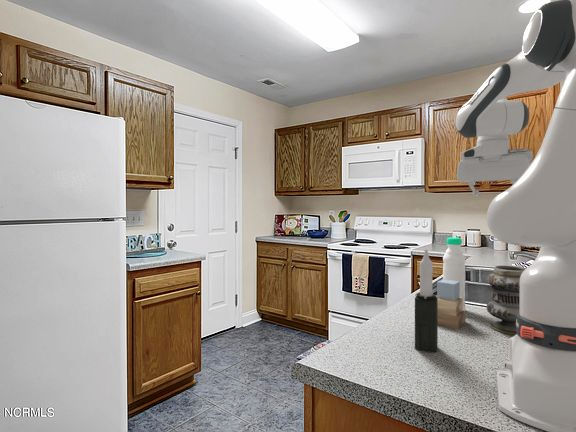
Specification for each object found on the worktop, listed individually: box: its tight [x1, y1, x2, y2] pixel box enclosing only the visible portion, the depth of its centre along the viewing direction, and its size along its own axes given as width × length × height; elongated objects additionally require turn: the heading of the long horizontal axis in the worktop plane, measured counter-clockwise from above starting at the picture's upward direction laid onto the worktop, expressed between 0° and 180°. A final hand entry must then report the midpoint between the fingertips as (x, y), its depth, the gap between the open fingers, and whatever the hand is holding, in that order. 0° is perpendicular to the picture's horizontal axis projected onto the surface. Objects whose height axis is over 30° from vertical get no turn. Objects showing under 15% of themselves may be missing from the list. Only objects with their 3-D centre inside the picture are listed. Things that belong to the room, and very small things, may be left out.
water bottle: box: [442, 236, 467, 310], centre depth 120 cm, size 7×7×25 cm
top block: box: [436, 295, 463, 316], centre depth 107 cm, size 7×7×4 cm
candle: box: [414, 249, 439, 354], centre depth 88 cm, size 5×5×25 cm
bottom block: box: [438, 309, 467, 330], centre depth 107 cm, size 8×8×4 cm
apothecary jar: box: [485, 264, 527, 336], centre depth 100 cm, size 12×12×18 cm
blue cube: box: [436, 278, 460, 301], centre depth 107 cm, size 5×5×5 cm
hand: (492, 195), depth 109 cm, fingers open, 8 cm apart
